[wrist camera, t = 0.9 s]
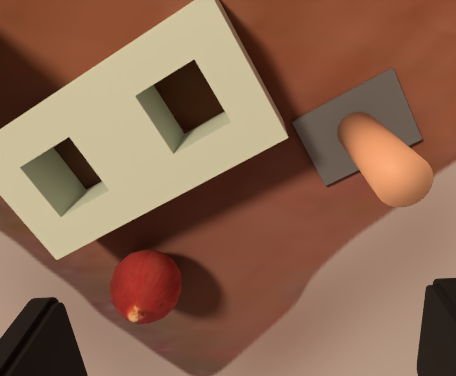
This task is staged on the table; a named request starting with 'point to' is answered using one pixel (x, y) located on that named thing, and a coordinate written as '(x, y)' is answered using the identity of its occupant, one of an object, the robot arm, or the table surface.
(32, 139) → the socket block
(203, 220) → the table surface
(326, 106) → the mat
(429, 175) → the peg
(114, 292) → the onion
